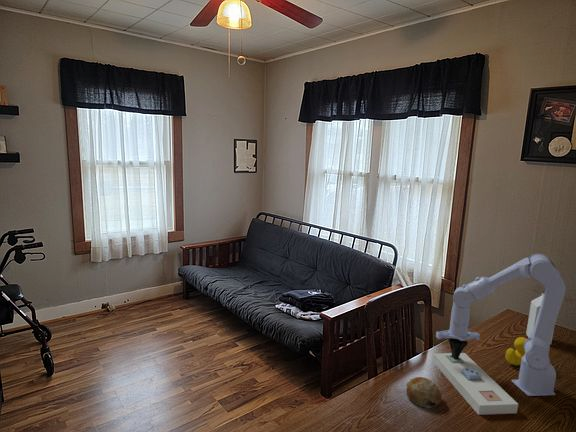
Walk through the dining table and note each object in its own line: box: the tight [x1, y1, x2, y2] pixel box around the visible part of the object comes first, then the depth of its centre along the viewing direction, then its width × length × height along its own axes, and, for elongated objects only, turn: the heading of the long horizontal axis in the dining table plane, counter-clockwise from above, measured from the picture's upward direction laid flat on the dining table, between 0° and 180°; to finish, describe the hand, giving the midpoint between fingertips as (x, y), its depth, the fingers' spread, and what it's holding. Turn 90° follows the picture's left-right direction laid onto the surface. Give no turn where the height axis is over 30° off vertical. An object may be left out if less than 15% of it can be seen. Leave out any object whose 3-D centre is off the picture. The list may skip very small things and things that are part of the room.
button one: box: [480, 392, 501, 401], centre depth 113 cm, size 4×4×3 cm
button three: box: [462, 368, 481, 381], centre depth 122 cm, size 4×4×3 cm
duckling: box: [504, 336, 528, 366], centre depth 135 cm, size 11×5×10 cm, turn 108°
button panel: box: [432, 352, 519, 416], centre depth 123 cm, size 12×28×3 cm, turn 6°
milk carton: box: [525, 292, 555, 346], centre depth 153 cm, size 7×7×19 cm
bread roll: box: [405, 376, 442, 409], centre depth 115 cm, size 10×10×8 cm
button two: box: [447, 355, 464, 363], centre depth 132 cm, size 4×4×3 cm
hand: (454, 357), depth 132 cm, fingers closed, pressing on button two
